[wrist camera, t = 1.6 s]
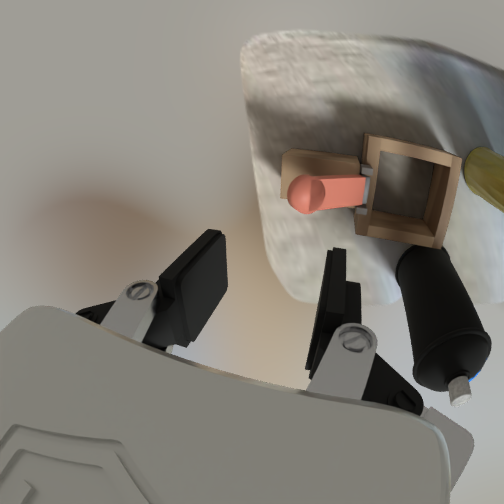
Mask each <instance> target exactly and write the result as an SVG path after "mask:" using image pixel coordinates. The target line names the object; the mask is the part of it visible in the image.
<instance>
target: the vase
mask: <svg viewBox="0 0 504 504" xmlns="http://www.w3.org/2000/svg"><path fill="white" fill-rule="evenodd" d="M464 175H465V180H466V183H467V185H468V187H469V188H470V190H471V191H472V192H473V193H474V194H476V195H478V196H480V197H482V198H483V199H484V200H486V201H487V202H488V203H490V204H491V205H493V206H494V207H496V208H497V209H499V210H500V211H502V212H503V213H504V157H503V156H501V155H499V154H497V153H495V152H493V151H492V150H490V149H489V148H486V147H478V148H476V149H474V150H473V151H472V152H471V153H470V154H469V155H468V157H467V159H466V162H465V167H464Z"/></svg>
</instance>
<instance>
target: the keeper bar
mask: <svg viewBox="0 0 504 504" xmlns="http://www.w3.org/2000/svg"><path fill="white" fill-rule="evenodd" d="M369 184H370V177H369V176H366V175H329V176H310V175H307V174H304V175H300V176H298V177H296V178H295V179H294V180H293V181H292V182H291V183H290V185H289V187H288V191H287V199H288V202H289V204H290V205H291V206H292V207H293V208H294V209H296V210H297V211H299V212H301V213H303V214H310V213H313V212H315V211H317V210H324V209H332V208H339V207H347V206H355V205H362V203H363V204H366V203H367V198H368V191H369Z"/></svg>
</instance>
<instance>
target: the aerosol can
mask: <svg viewBox="0 0 504 504" xmlns="http://www.w3.org/2000/svg"><path fill="white" fill-rule="evenodd" d="M396 280H397V283H398V285H399V286H400V288H401V293H402V297H403V302H404V306H405V311H406V316H407V321H408V327H409V332H410V338H411V345H412V351H413V357H414V358H413V359H414V366H413V377H414V379H415V381H416V382H417V383H418V384H420V385H421V386H424V387H426V388H428V389H431V390H434V391H439V392H444V391H449V396H450V403H451V406H454V407H457V406H460V405H463V404H465V403H466V402H468V401H469V400H470V398H471V390H470V386H469V382H470V381H471V380H472V379H473V378H475V377H476V376H477V375H478V373H479V372H480V371H481V369H482V367H483V365H484V363H485V362H486V360H487V358H488V356H489V354H490V351H491V339H490V336H489V335H488V333H487V332H485V331H484V328H483V326H482V324H481V321H480V319H479V316H478V314H477V312H476V310H475V308H474V305H473V303H472V301H471V299H470V297H469V295H468V293H467V291H466V289H465V287H464V285H463V283H462V281H461V279H460V277H459V276H458V274H457V272H456V270H455V268H454V266H453V265H452V263H451V260H450V256H449V254H448V252H447V251H446V250H445V249H444V248H443V247H441V249H436V248H431V247H425V246H420V245H414V246H412V247H411V248H409V249H408V250H407V251H406V252H405V253H404V254H403V255H402V257H401V258H400V260H399V262H398V264H397V268H396Z"/></svg>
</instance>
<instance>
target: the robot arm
mask: <svg viewBox="0 0 504 504" xmlns="http://www.w3.org/2000/svg"><path fill="white" fill-rule="evenodd" d="M226 261H227V259H226V239H225V235H224V234H222V232H221V231H219V230H212V229H208V230H206V231H205V232H204V233H203V234H202V235H201V236H200V237H199V238H198V239H197V240H196V241H195V242H194V243H193V244H192V245H190V246H189V247H188V248H187V249H186V250H185V251H184V252H183V253H182V254H181V255H180V256H179V257H178V258H177V259H176V260H175V261H174V262H173V263H172V264H171V265H170V266H169V267H168V268H167V269H166V270H165V271H164V272H163V273H162V274H161V275H160V276H159V280H158V281H157V282H156V283H154V282H153V281H149V280H139V281H136V282H133V283H131V284H129V285H128V286H127V287H126V288H125V289H124V290H123V292H122V293H121V294H120V296H119V297H118V299H117V300H115V301H111V302H108V303H104V304H100V305H96V306H92V307H88V308H84V309H81V310H79V311H78V312H77V313H76V314H74V313H72V312H69V311H66V310H63V309H60V308H56V307H51V306H35V307H30V308H28V309H26V310H25V311H23V312H22V313H21V314H20V315H18V316H17V317H16V318H15V319H14V320H13V321H11V322H10V323H9V324H8V325H7V326H6V327H5V328H4V329H3V330H2V331H1V332H0V504H449V503H450V492H451V491H452V489H453V487H454V486H455V484H456V482H457V481H458V479H459V477H460V475H461V474H462V472H463V470H464V468H465V466H466V464H467V462H468V460H469V458H470V456H471V454H472V452H473V448H474V439H473V437H472V435H471V434H470V433H469V432H468V431H467V430H466V429H464V428H463V427H461V426H460V425H458V424H457V423H455V422H453V421H452V420H451V419H449V418H448V417H446V416H445V415H443V414H442V413H440V412H439V411H437V410H436V409H434V408H433V407H430V408H429V409H428V408H426V407H425V406H424V404H423V399H422V397H421V395H420V394H419V392H418V391H417V390H416V389H415V388H414V387H413V386H412V385H410V384H409V383H408V382H407V381H406V380H405V379H404V378H403V377H402V376H401V375H400V374H399V373H397V372H396V371H395V370H394V369H393V368H392V367H391V366H390V365H389V364H388V363H387V362H385V361H384V360H383V359H382V358H381V357H380V356H379V355H378V354H377V353H376V348H377V338H376V335H375V334H374V333H373V331H372V330H371V329H369V328H368V327H366V326H364V325H362V324H361V286H360V283H356V282H350V281H346V249H341V248H335V247H333V251H331V250H328V251H327V257H326V263H325V269H324V275H323V281H322V286H321V291H320V297H319V302H318V307H317V312H316V318H315V323H314V328H313V333H312V339H311V343H310V348H309V353H308V357H307V362H306V366H305V369H306V370H310V374H309V379H311V382H310V384H309V386H308V388H307V389H306V391H305V390H299V389H294V388H289V387H285V386H280V385H275V384H271V383H267V382H263V381H258V380H254V379H251V378H247V377H243V376H239V375H236V374H232V373H229V372H225V371H222V370H218V369H215V368H212V367H208V366H205V365H202V364H199V363H196V362H192V361H190V360H186V359H184V358H181V357H178V356H175V355H172V354H171V352H172V349H173V345H174V344H177V345H180V346H183V347H186V348H187V346H188V345H189V343H190V342H191V341H192V342H194V341H195V340H196V338H197V336H198V335H199V333H200V332H201V330H202V329H203V327H204V326H205V324H206V322H207V321H208V319H209V318H210V316H211V315H212V313H213V311H214V310H215V308H216V307H217V305H218V304H219V302H220V300H221V299H222V297H223V295H224V294H225V293H226V291H227V287H228V278H227V262H226Z"/></svg>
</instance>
